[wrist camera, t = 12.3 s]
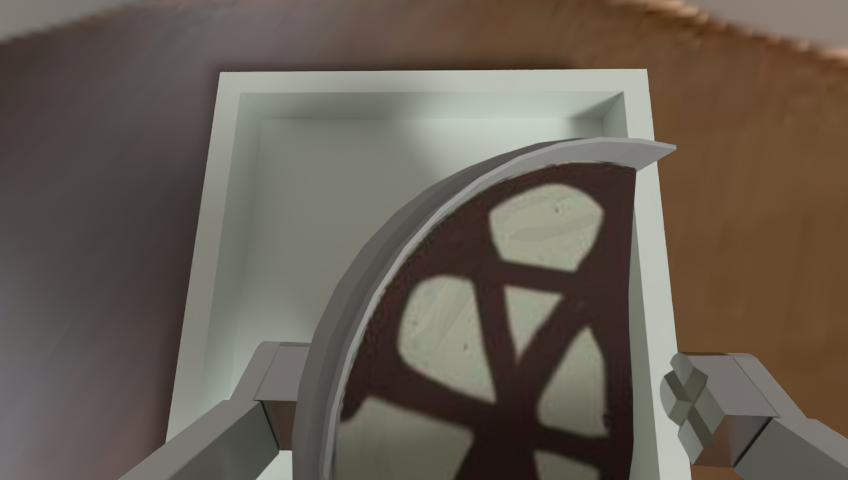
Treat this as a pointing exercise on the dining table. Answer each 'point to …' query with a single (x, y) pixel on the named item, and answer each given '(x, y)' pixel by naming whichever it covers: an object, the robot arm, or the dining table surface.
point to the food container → (485, 328)
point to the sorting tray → (390, 210)
